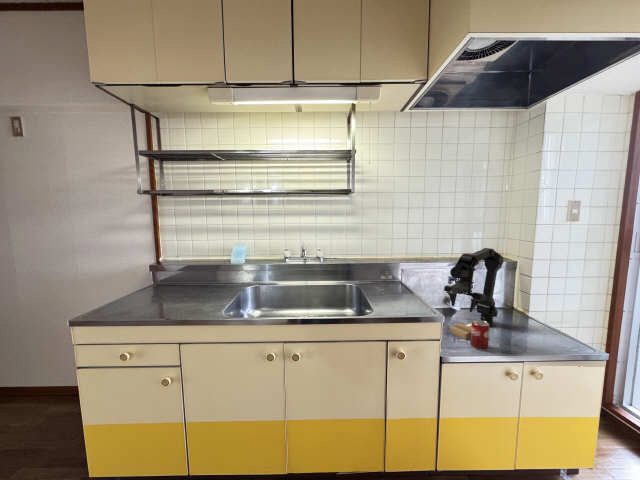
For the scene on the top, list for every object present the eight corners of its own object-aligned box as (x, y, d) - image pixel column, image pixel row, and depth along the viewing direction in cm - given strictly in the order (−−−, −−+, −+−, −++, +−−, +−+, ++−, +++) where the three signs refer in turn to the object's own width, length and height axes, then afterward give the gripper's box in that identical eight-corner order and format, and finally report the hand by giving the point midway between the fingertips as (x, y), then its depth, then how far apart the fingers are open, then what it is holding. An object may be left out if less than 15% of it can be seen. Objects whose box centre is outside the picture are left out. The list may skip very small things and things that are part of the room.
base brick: (461, 328, 147) (461, 323, 147) (477, 335, 139) (477, 330, 139) (449, 332, 143) (450, 326, 143) (465, 339, 135) (465, 334, 135)
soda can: (485, 344, 131) (487, 320, 129) (489, 351, 124) (491, 326, 122) (469, 342, 133) (470, 318, 131) (471, 349, 126) (473, 324, 125)
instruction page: (470, 323, 153) (470, 323, 153) (482, 328, 147) (482, 328, 147) (458, 327, 149) (458, 326, 149) (470, 332, 143) (470, 332, 143)
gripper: (439, 274, 140) (435, 304, 140) (476, 282, 124) (471, 316, 125) (452, 275, 146) (447, 303, 146) (488, 283, 130) (483, 315, 131)
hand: (461, 309), depth 137 cm, fingers open, 9 cm apart
